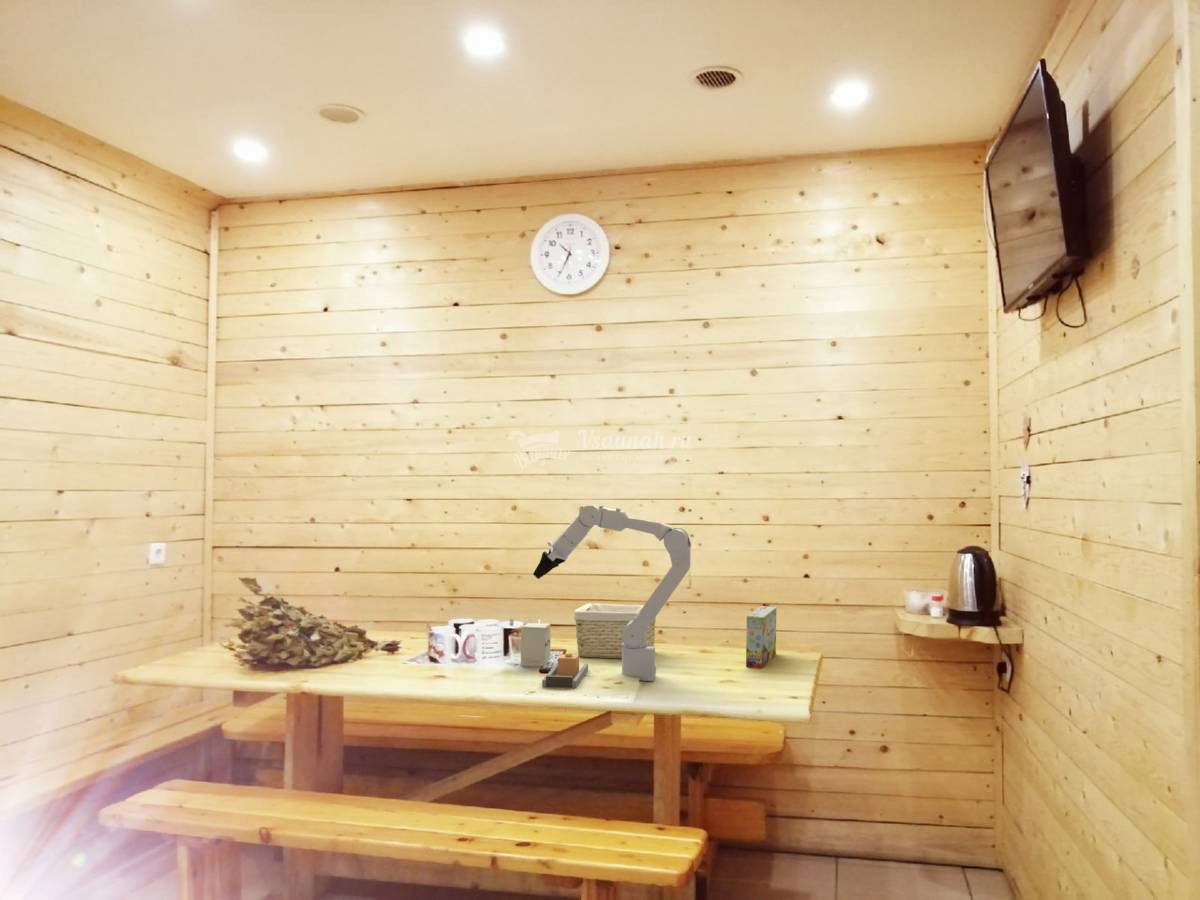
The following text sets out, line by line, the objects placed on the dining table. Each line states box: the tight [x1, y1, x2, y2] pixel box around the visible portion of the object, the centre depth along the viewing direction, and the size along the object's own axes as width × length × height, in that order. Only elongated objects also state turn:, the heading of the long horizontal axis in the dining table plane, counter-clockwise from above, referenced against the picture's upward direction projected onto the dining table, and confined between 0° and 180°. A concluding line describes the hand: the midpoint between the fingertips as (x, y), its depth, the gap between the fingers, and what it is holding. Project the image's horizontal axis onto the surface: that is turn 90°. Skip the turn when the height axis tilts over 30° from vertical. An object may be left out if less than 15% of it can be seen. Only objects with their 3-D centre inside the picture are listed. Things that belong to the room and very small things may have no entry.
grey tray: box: [541, 662, 589, 689], centre depth 233 cm, size 12×20×4 cm, turn 172°
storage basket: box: [573, 602, 657, 660], centre depth 270 cm, size 24×16×15 cm
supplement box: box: [520, 622, 551, 668], centre depth 251 cm, size 7×7×13 cm
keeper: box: [557, 652, 580, 678], centre depth 237 cm, size 5×5×6 cm
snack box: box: [745, 605, 777, 669], centre depth 259 cm, size 21×6×15 cm, turn 158°
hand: (538, 574), depth 244 cm, fingers open, 7 cm apart
